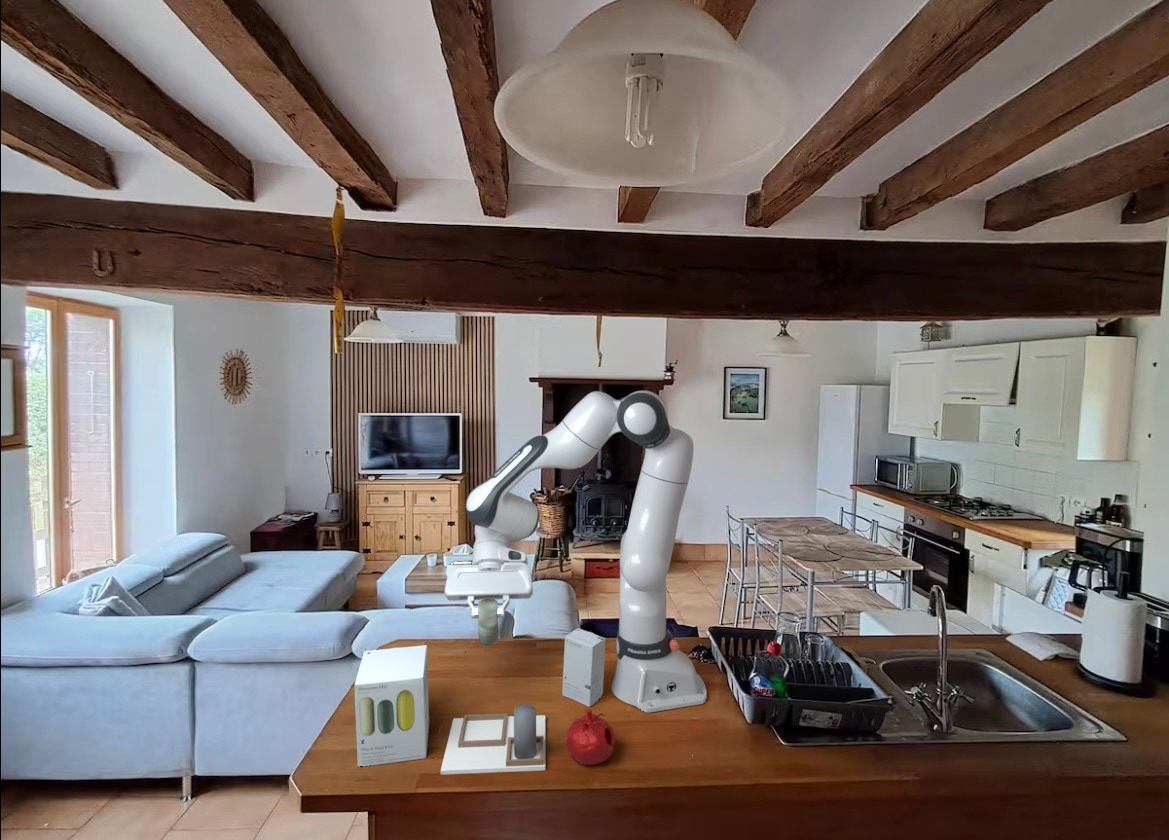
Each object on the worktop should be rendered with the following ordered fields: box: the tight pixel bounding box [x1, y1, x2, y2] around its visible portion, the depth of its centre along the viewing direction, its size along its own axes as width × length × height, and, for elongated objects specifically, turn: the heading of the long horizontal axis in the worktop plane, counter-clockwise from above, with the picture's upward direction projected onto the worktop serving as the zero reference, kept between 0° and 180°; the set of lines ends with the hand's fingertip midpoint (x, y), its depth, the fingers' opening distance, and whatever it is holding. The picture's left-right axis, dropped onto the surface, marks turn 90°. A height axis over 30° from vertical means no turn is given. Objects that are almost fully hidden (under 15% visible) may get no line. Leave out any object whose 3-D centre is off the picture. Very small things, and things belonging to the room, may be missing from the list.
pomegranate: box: [565, 708, 616, 766], centre depth 117 cm, size 10×10×9 cm
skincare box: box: [561, 628, 607, 708], centre depth 137 cm, size 8×6×15 cm
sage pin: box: [477, 599, 499, 646], centre depth 133 cm, size 4×4×9 cm
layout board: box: [440, 703, 546, 776], centre depth 120 cm, size 20×16×10 cm
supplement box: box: [354, 644, 430, 768], centre depth 120 cm, size 13×13×18 cm
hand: (487, 617), depth 132 cm, fingers closed on sage pin, 4 cm apart
